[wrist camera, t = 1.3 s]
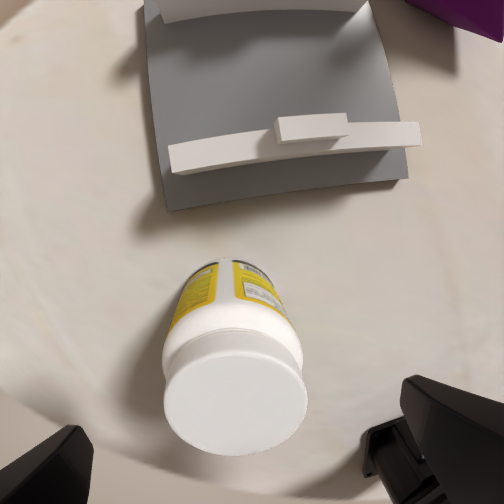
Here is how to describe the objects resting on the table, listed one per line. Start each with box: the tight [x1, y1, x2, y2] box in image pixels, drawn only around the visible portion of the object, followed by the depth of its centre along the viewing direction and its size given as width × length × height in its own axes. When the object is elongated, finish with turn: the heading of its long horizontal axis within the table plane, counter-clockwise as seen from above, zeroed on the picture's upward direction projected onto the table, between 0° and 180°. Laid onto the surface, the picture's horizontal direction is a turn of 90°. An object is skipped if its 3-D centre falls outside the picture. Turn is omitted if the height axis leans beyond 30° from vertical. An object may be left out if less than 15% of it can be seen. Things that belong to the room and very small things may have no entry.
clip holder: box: [144, 0, 422, 212], centre depth 11 cm, size 12×12×5 cm
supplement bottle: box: [162, 258, 308, 456], centre depth 12 cm, size 5×5×8 cm
